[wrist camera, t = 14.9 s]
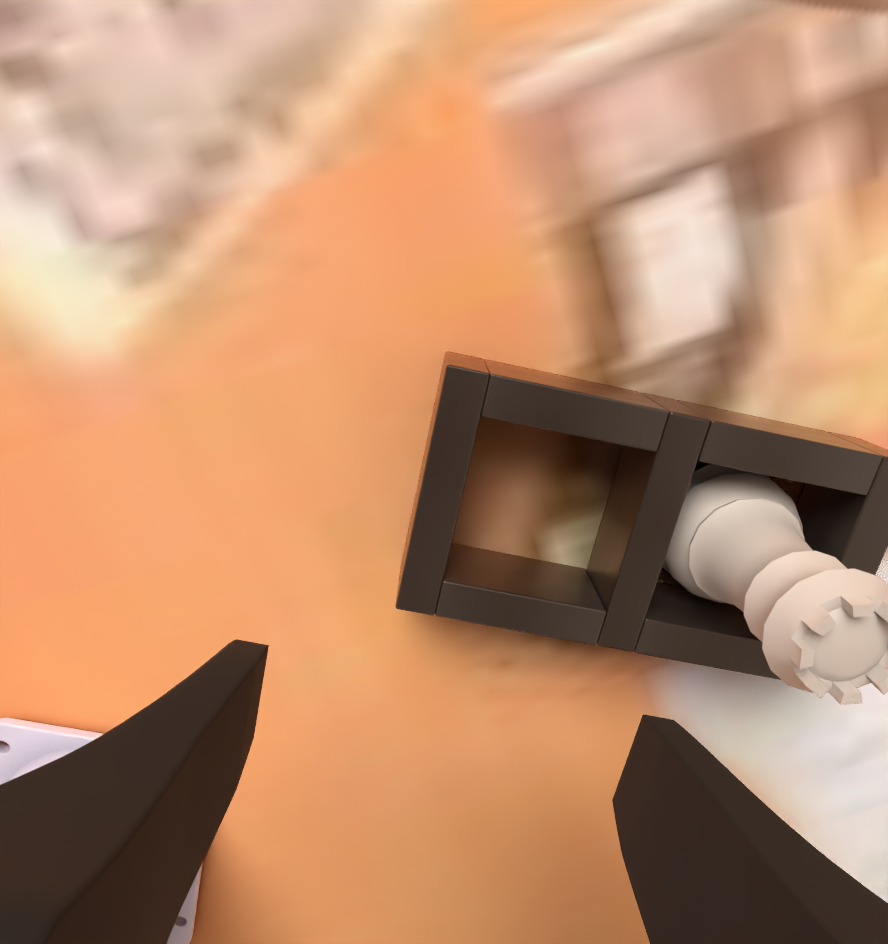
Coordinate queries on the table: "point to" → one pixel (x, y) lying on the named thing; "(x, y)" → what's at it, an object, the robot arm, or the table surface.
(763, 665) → the rack
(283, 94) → the table surface
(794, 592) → the rook chess piece
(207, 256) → the table surface
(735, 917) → the robot arm
